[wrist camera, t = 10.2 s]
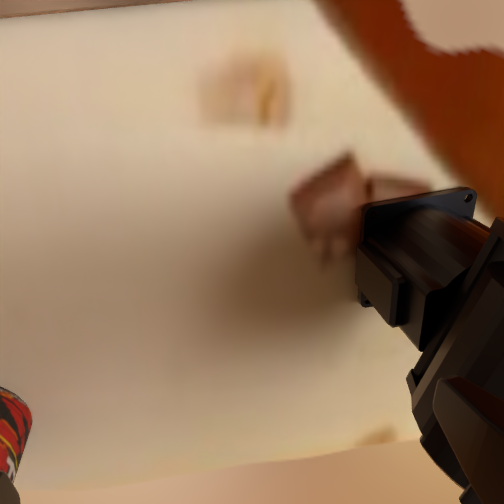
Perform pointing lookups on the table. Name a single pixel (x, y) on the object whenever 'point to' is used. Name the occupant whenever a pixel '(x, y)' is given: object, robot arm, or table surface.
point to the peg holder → (64, 6)
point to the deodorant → (12, 431)
